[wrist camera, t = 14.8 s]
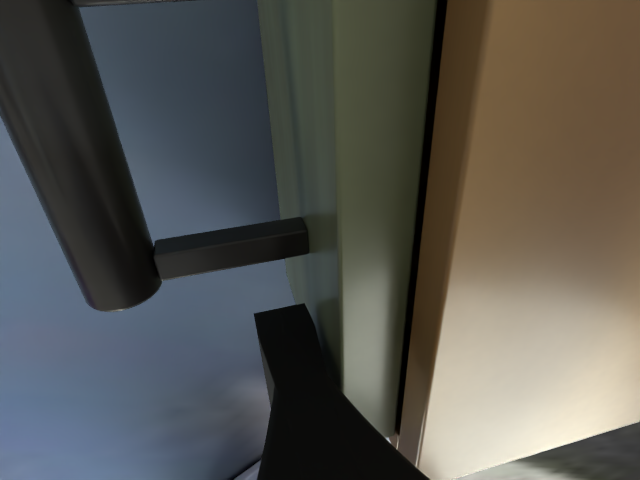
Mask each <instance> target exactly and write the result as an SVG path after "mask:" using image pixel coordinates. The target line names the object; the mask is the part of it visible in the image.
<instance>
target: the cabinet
mask: <svg viewBox="0 0 640 480" xmlns="http://www.w3.org/2000/svg"><path fill="white" fill-rule="evenodd" d="M639 421H640V0H447V10H446V19H445V28H444V37H443V46H442V55H441V64H440V73H439V82H438V91H437V100H436V110H435V119H434V128H433V137H432V146H431V155H430V164H429V173H428V182H427V191H426V200H425V209H424V219H423V228H422V237H421V246H420V255H419V264H418V273H417V282H416V291H415V300H414V309H413V319H412V328H411V327H410V325H409V324H408V322H407V321H406V325H405V335H404V345H403V355H402V365H401V375H400V385H399V396H398V406H397V416H396V426H395V434H394V435H393V436H391V437H389V440H390V442H391V444H392V445H393V446H394V447H395V448H396V449H397V450H398V451H399V452H400V453H401V454H402V455H403V456H405V457H406V458H407V459H408V460H409V461H410V462H411V463H412V464H413V465H414V466H415V467H416V468H418V469H419V470H420V471H421V472H422V473H423V474H424V475H426V476H427V477H428V478H429V479H430V480H453V479H456V478H459V477H462V476H466V475H469V474H472V473H475V472H479V471H482V470H485V469H488V468H491V467H495V466H498V465H501V464H504V463H507V462H511V461H514V460H517V459H520V458H524V457H527V456H530V455H533V454H536V453H540V452H543V451H546V450H549V449H553V448H556V447H559V446H562V445H565V444H569V443H572V442H575V441H578V440H581V439H585V438H588V437H591V436H594V435H598V434H601V433H604V432H607V431H610V430H614V429H617V428H620V427H623V426H626V425H630V424H633V423H636V422H639Z"/></svg>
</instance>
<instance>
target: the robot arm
mask: <svg viewBox="0 0 640 480" xmlns="http://www.w3.org/2000/svg"><path fill="white" fill-rule="evenodd" d="M254 317H255V323H256V328H257V334H258V339H259V345H260V351H261V356H262V362H263V368H264V373H265V379H266V384H267V390H268V395H269V400H270V406H271V412H270V418H269V424H268V430H267V435H266V440H265V445H264V450H263V455H262V459H261V460H260V461H259V462H257V463H256V464H255V465H253V466H252V467H250V468H249V469H248V470H246V471H245V472H244V473H242V474H241V475H239V476H238V477H237V478H235V479H234V480H430V479H429V478H428V477H427V476H426V475H424V474H423V473H422V472H421V471H420V470H419V469H418V468H416V467H415V466H414V465H413V464H412V463H411V462H410V461H409V460H408V459H407V458H406V457H405V456H403V455H402V454H401V453H400V452H399V451H398V450H397V449H396V448H395V447H394V446H393V445H392V444H391V442H390V440H389V437H388V438H385V437H384V436H383V435H381V434H380V433H379V432H378V431H377V430H376V429H375V428H374V427H373V425H372V424H371V423H370V422H369V421H368V420H367V419H366V418H365V417H364V416H363V415H362V414H361V413H360V412H359V411H358V410H357V409H356V407H355V406H354V405H353V404H352V403H351V402H350V401H349V400H348V398H347V397H346V396H345V395H344V394H343V393H342V392H341V390H340V389H339V388H338V387H337V386H336V384H335V383H334V382H333V381H332V380H331V378H330V377H329V376H328V374H327V371H326V367H325V363H324V359H323V355H322V351H321V347H320V343H319V339H318V335H317V331H316V328H315V324H314V322H313V320H312V317H311V315H310V313H309V311H308V309H307V307H306V305H305V303H302V304H298V305H293V306H288V307H283V308H279V309H274V310H269V311H264V312H260V313H255V314H254Z"/></svg>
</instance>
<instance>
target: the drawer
mask: <svg viewBox="0 0 640 480" xmlns="http://www.w3.org/2000/svg"><path fill="white" fill-rule="evenodd" d="M178 1H195V0H0V116H1V119H2V121H3V123H4V125H5V127H6V129H7V132H8V134H9V136H10V138H11V140H12V142H13V145H14V147H15V149H16V151H17V153H18V155H19V158H20V160H21V162H22V164H23V166H24V168H25V171H26V173H27V175H28V177H29V179H30V181H31V184H32V186H33V188H34V190H35V192H36V194H37V197H38V199H39V201H40V203H41V205H42V207H43V210H44V212H45V214H46V216H47V218H48V220H49V223H50V225H51V227H52V229H53V231H54V233H55V236H56V238H57V240H58V242H59V244H60V246H61V249H62V251H63V253H64V255H65V257H66V259H67V262H68V264H69V266H70V268H71V270H72V272H73V275H74V277H75V279H76V281H77V283H78V285H79V288H80V290H81V292H82V294H83V296H84V298H85V301H86V302H87V304H88V305H89V306H90V307H92V308H93V309H95V310H98V311H104V312H115V311H121V310H126V309H129V308H132V307H135V306H137V305H139V304H141V303H143V302H145V301H146V300H148V299H149V298H151V297H152V296H153V295H154V294H155V293H156V292H157V291H158V290H159V288H160V287H161V284H162V281H164V280H170V279H175V278H181V277H186V276H192V275H197V274H203V273H208V272H214V271H219V270H225V269H230V268H236V267H241V266H247V265H252V264H258V263H263V262H269V261H274V260H280V259H285V265H286V274H287V277H288V281H289V284H290V287H291V290H292V293H293V296H294V300H295V303H296V305H298V304H302V303H305V305H306V307H307V309H308V311H309V313H310V315H311V317H312V320H313V322H314V324H315V328H316V331H317V335H318V339H319V343H320V347H321V351H322V355H323V359H324V363H325V367H326V371H327V374H328V376H329V377H330V378H331V380H332V381H333V382H334V383H335V384H336V386H337V387H338V388H339V389H340V390H341V392H342V393H343V394H344V395H345V396H346V397H347V398H348V400H349V401H350V402H351V403H352V404H353V405H354V406H355V407H356V409H357V410H358V411H359V412H360V413H361V414H362V415H363V416H364V417H365V418H366V419H367V420H368V421H369V422H370V423H371V424H372V425H373V427H374V428H375V429H376V430H377V431H378V432H379V433H380V434H381V435H383V436H384V437H385V438H388V437H391V436H393V435H394V434H395V426H396V416H397V406H398V396H399V385H400V375H401V365H402V355H403V345H404V335H405V325H406V321H407V322H408V324H409V325H410V327H411V328H412V319H413V309H414V300H415V291H416V282H417V273H418V264H419V255H420V246H421V237H422V228H423V219H424V209H425V200H426V191H427V182H428V173H429V164H430V155H431V146H432V137H433V128H434V119H435V110H436V100H437V91H438V82H439V73H440V64H441V55H442V46H443V37H444V28H445V19H446V10H447V0H257V4H258V13H259V22H260V32H261V41H262V50H263V60H264V69H265V78H266V88H267V97H268V106H269V116H270V125H271V134H272V144H273V153H274V162H275V171H276V181H277V190H278V199H279V209H280V218H281V220H276V221H270V222H264V223H258V224H252V225H246V226H239V227H233V228H227V229H221V230H215V231H209V232H203V233H197V234H190V235H184V236H178V237H172V238H166V239H160V240H156V241H155V245H154V246H153V243H152V240H151V237H150V233H149V230H148V227H147V224H146V221H145V218H144V214H143V211H142V208H141V205H140V202H139V198H138V195H137V192H136V189H135V186H134V182H133V179H132V176H131V173H130V170H129V167H128V163H127V160H126V157H125V154H124V151H123V147H122V144H121V141H120V138H119V135H118V131H117V128H116V125H115V122H114V119H113V116H112V112H111V109H110V106H109V103H108V100H107V96H106V93H105V90H104V87H103V84H102V81H101V77H100V74H99V71H98V68H97V65H96V61H95V58H94V55H93V52H92V49H91V45H90V42H89V39H88V36H87V33H86V30H85V26H84V23H83V20H82V17H81V14H80V10H79V7H91V6H109V5H126V4H143V3H161V2H178Z"/></svg>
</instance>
